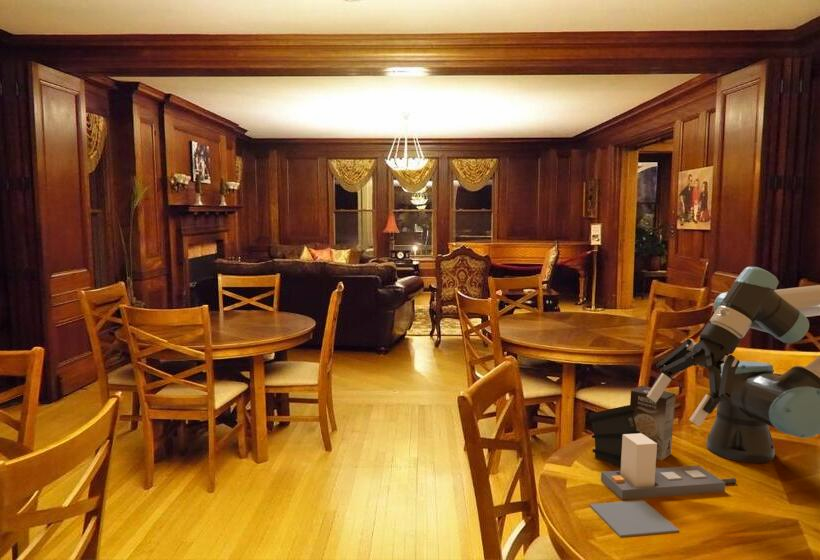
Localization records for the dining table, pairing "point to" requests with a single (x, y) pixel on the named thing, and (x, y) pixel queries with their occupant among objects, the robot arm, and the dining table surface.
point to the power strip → (668, 483)
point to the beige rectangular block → (638, 460)
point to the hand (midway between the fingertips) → (671, 411)
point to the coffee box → (654, 418)
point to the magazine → (612, 432)
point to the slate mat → (633, 518)
